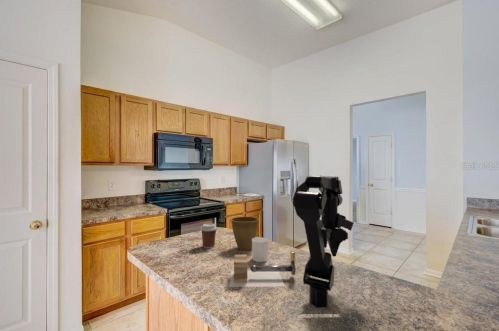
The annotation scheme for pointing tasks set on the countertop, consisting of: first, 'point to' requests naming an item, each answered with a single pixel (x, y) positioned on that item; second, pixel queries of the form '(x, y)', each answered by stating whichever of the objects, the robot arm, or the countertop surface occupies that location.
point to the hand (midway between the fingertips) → (329, 251)
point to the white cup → (260, 249)
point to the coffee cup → (208, 235)
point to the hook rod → (277, 267)
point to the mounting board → (259, 279)
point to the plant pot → (244, 231)
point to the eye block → (240, 269)
